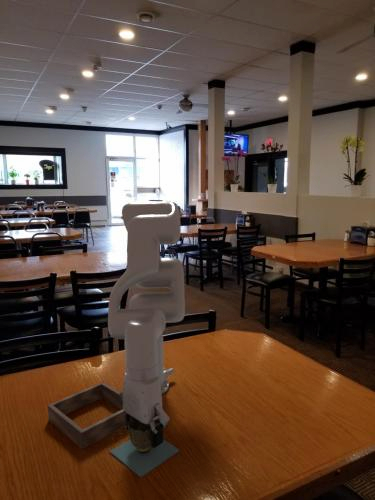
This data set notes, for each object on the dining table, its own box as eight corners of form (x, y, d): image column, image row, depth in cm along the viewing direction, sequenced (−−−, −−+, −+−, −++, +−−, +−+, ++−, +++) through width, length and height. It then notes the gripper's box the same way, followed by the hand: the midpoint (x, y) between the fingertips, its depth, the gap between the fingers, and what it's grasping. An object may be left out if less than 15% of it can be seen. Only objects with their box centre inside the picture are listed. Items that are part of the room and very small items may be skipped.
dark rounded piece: (153, 462, 90) (153, 431, 88) (124, 458, 91) (122, 427, 90) (162, 442, 97) (161, 412, 96) (134, 438, 98) (133, 409, 97)
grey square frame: (103, 395, 120) (102, 381, 120) (139, 418, 108) (138, 403, 107) (48, 420, 108) (47, 405, 107) (82, 449, 95) (81, 432, 94)
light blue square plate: (147, 430, 102) (147, 429, 102) (179, 451, 94) (179, 449, 94) (109, 452, 94) (109, 451, 94) (141, 477, 86) (140, 475, 85)
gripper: (107, 364, 94) (110, 428, 97) (153, 388, 82) (155, 460, 85) (132, 354, 99) (134, 415, 102) (178, 376, 87) (180, 444, 90)
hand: (144, 436), depth 93 cm, fingers open, 9 cm apart
